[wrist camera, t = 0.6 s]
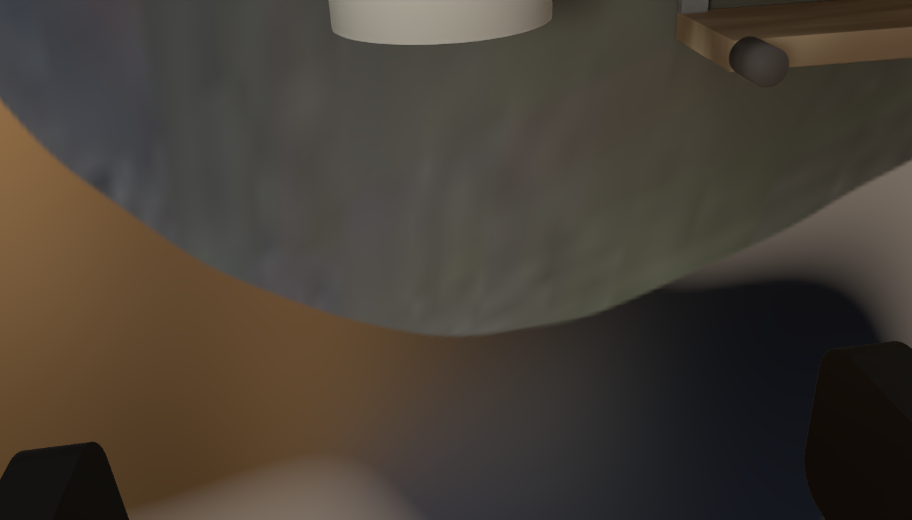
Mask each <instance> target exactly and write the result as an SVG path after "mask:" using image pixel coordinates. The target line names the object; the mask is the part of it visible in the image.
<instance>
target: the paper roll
mask: <svg viewBox="0 0 912 520" xmlns="http://www.w3.org/2000/svg"><path fill="white" fill-rule="evenodd" d="M329 9H330V17H331V26H332V31H333V32H334V33H336V34H337V35H339V36H342V37H344V38H348V39H352V40H357V41H363V42H370V43H380V44H399V45H429V44H450V43H462V42H472V41H481V40H488V39H495V38H501V37H506V36H511V35H515V34H520V33H524V32H527V31H530V30H533V29H536V28H539V27H541V26H543V25H545V24H547V23H548V22H549V21H550V20H551V19H552V0H329Z"/></svg>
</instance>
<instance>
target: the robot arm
mask: <svg viewBox="0 0 912 520" xmlns="http://www.w3.org/2000/svg"><path fill="white" fill-rule="evenodd" d="M804 465H805V474H806V479H807V483H808V487H809V490H810V493H811V495H812V497H813V500H814V502H815V504H816V506H817V507H818V509H819V511H820V512H821V513H822V515H823V517H824V518H825V520H912V349H911V348H910V347H909V346H907V345H906V344H904V343H902V342H897V341H892V342H884V343H876V344H868V345H861V346H853V347H845V348H837V349H831V350H829V351H827V352H826V353H825V355H824V356H823V357H822V360H821V362H820V366H819V371H818V377H817V383H816V389H815V394H814V400H813V406H812V412H811V418H810V423H809V429H808V435H807V441H806V447H805V454H804ZM0 520H129V518H128V515H127V513H126V510H125V507H124V504H123V501H122V498H121V496H120V493H119V490H118V487H117V484H116V481H115V479H114V476H113V473H112V470H111V467H110V465H109V462H108V459H107V456H106V454H105V452H104V450H103V448H102V447H101V446H100V445H99V444H98V443H96V442H87V443H79V444H71V445H63V446H55V447H47V448H40V449H32V450H24V451H20V452H18V453H17V454H16V455H15V456H14V457H13V458H12V459H11V461H10V463H9V464H8V466H7V468H6V470H5V472H4V474H3V476H2V477H1V479H0Z"/></svg>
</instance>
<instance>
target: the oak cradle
mask: <svg viewBox="0 0 912 520" xmlns="http://www.w3.org/2000/svg"><path fill="white" fill-rule="evenodd" d="M708 3H709V0H678V10H677V24H676V37H675V39H676V40H678V41H679V42H681V43H683V44H684V45H686V46H688V47H689V48H691V49H693V50H694V51H696V52H697V53H699V54H701V55H702V56H704V57H706V58H707V59H709V60H711V61H712V62H714V63H716V64H717V65H719V66H721V67H722V68H724V69H726V70H727V71H729V72H737V73H738V74H740V75H742V76H743V77H745V78H747V79H748V80H750V81H752V82H753V83H755V84H757V85H759V86H761V87H771V86H774V85H776V84H778V83H779V82H780V81H781V80H782V79H783V78H784V77H785V75H786V74H787V71H788V68H789V67H801V66H813V65H826V64H838V63H850V62H863V61H875V60H887V59H900V58H912V0H831V1H817V2H804V3H790V4H777V5H763V6H750V7H736V8H723V9H709V10H708Z"/></svg>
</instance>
